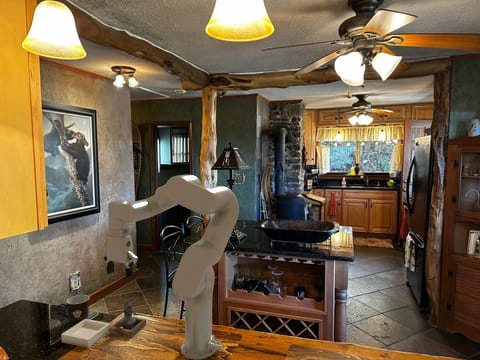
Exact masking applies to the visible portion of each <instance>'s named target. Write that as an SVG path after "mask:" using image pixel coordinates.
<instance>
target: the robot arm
mask: <svg viewBox="0 0 480 360" xmlns="http://www.w3.org/2000/svg"><path fill="white" fill-rule="evenodd" d="M238 200H239V199H238V198H237V196H236V194H235V193H234V192H233V191H232V190H231V189H230V188H229V187H226V186H223V185H217V186H212V187H203V186H202V182H201V180H200V179H199V178H198V177H197V176H196V175H193V174H181V175H175V176H172V177H170V178H169V179H168V180H167V181H166V183H165V184H164V185H162V186H159V187H158V188H156V189H155V193H154V195H152V196H149V197H147V198H144V199H141V200H136V201H131V202H130V201H129V202H128V201H127V200H112V201H110V202H108V205H107V207H108V208H107V209H108V213H107V214H108V219H107V220H108V237H107V242H106V249H105V250H104V251H102V253H101V254H102V256H103V260H104V263H105V265H106V274H107V275H111V274H113V273H115V263H116V262H117V263H121V264H124V265H125V267H126V268H125V279H129V278H132V277H133V275H134V274H133V271H134V270H133V267H135V265H136V264H137V261H138V256H136V255H135V253H134V245H133V239H132V235H131V231H130V223H136V222H139V221H142V220H146V219H149V218H151V217H154V216H157V215H159V214H161V213H163V212H165V211H167V210H169V209H171V208H173V207H176V206H178V205H180V206H181V207H183V208H186V209H188V210H190V211H192V212H195V213H197V214H199V215H204V216H210V215H213V216H212V217H211V219H210V221H209V222H208V225H206V226H207V227H206V228H205V231H204V233H203V235H202V237H201V239H199V240H197V241H196V242H194V243H192V244H191V245H189V247H187V249H186V250H185V252H184V253H183V255H182V257H181V259H180V261H179V264H178V267H177V269H176V271H175V274H174V276H173V280H172V285H171V287H172V292H173V294H174V296H175V297H176V298H177V299H179V300H180V301H183V302H184V313H185V314H184V324H185V325H184V341H183V343H182V344H181V345H180V353H181V355H182V356H183V357H185V358H187V359H190V360H204V359H207V358H209V357H211V356H213V355H214V354H215V352H216V351H218V352H222V351H223V344H222V341H220V340H216V339H215V334H213V293H214V286H215V281H216V280H215V278H216V277H215V271H214V268H213V266H215V265H217V263H218V262H219V261H220V260H221V258H222V257H223V255H224V254H223V253H224V252H225V249H226V247H227V246H228V245H227V244H229V240H230V238H231V235H232V233H233V230H234V229H235V226H236V224H237V221H238V219H239V214H240V206H239V202H238Z"/></svg>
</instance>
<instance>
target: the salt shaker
mask: <svg viewBox="0 0 480 360" xmlns="http://www.w3.org/2000/svg"><path fill="white" fill-rule="evenodd" d="M123 309H124V310H123V312H122V313H123V317H124V319H122V320H121V322H120V323H121V325H122V326H121V328H122V329H128V330H132V329H133V328H134V327H135V321H136V319H135V318H133V317H134V316H133V312H134V310H133V304H132V302H130V301H129V300H127V301H126V302H125V303H124V305H123Z"/></svg>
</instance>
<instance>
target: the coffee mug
mask: <svg viewBox="0 0 480 360" xmlns="http://www.w3.org/2000/svg"><path fill="white" fill-rule="evenodd" d="M90 298H91V297H90V295H88V294H77V295H73V296H70V297H69V298H67V299H66V304H65V303H61V304H58V305H57V306H56V307H55V308H56V310H55V311H56V313H57V314H59V315H60V316H62V317H65V318H67V319H68V322H69V326H70V327H71V328H72V327H74V326H75V325H77V324H78V323H80V322H81V321H83V320H84V319H89V318H88V316H89V308H90V307H89V306H90V300H91V299H90ZM61 306H63V307H65V308H66V311H67V314H64V313H61V312H60V311H59V310H58V309H59V307H61Z"/></svg>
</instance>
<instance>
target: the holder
mask: <svg viewBox="0 0 480 360" xmlns="http://www.w3.org/2000/svg"><path fill="white" fill-rule="evenodd" d="M132 317H133V318H135V319H136V321H135V324H134V328H133V329H132V330H128V329H122V328H123V327H122V325H121V323H120V322H121V320H122V319H124V316H122V317H121V318H119V320H118V321H116V322H114V323H113V324H111V327H110V328H109V332H108V333H109V335H113V334H114V335H113V336H119V337H124V338H129V339H133V338H135V336H136V335H137V334H138V333H140V331H142V329H144V328H145V327H146V326H147V319H146V318H141V317H135V316H132Z"/></svg>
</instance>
